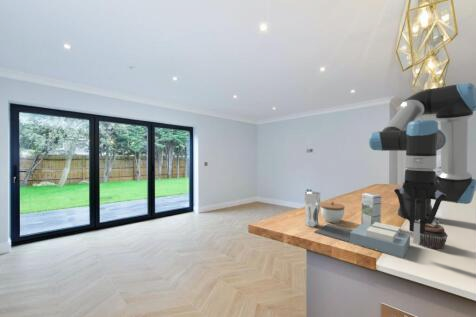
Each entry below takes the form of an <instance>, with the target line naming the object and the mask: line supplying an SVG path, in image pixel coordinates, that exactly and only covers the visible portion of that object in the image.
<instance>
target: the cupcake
mask: <svg viewBox="0 0 476 317" xmlns="http://www.w3.org/2000/svg"><path fill="white" fill-rule="evenodd" d="M426 219H427V218H426ZM417 221H418V222H420V220H417ZM439 223H440V220H439V219H438V218H436V217H435V218H434V220H433V223H431V224H430V223H427V224H425V233H424V234H421V233H420V243H419V244H417V245H418V246H422V247H424V248H428V249H432V250H437V249H441V250H444V249H443V248H445V245H446V242H447V240H448V234H447V233H446V231H445V228H444V226H443V225H440V224H439Z"/></svg>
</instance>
